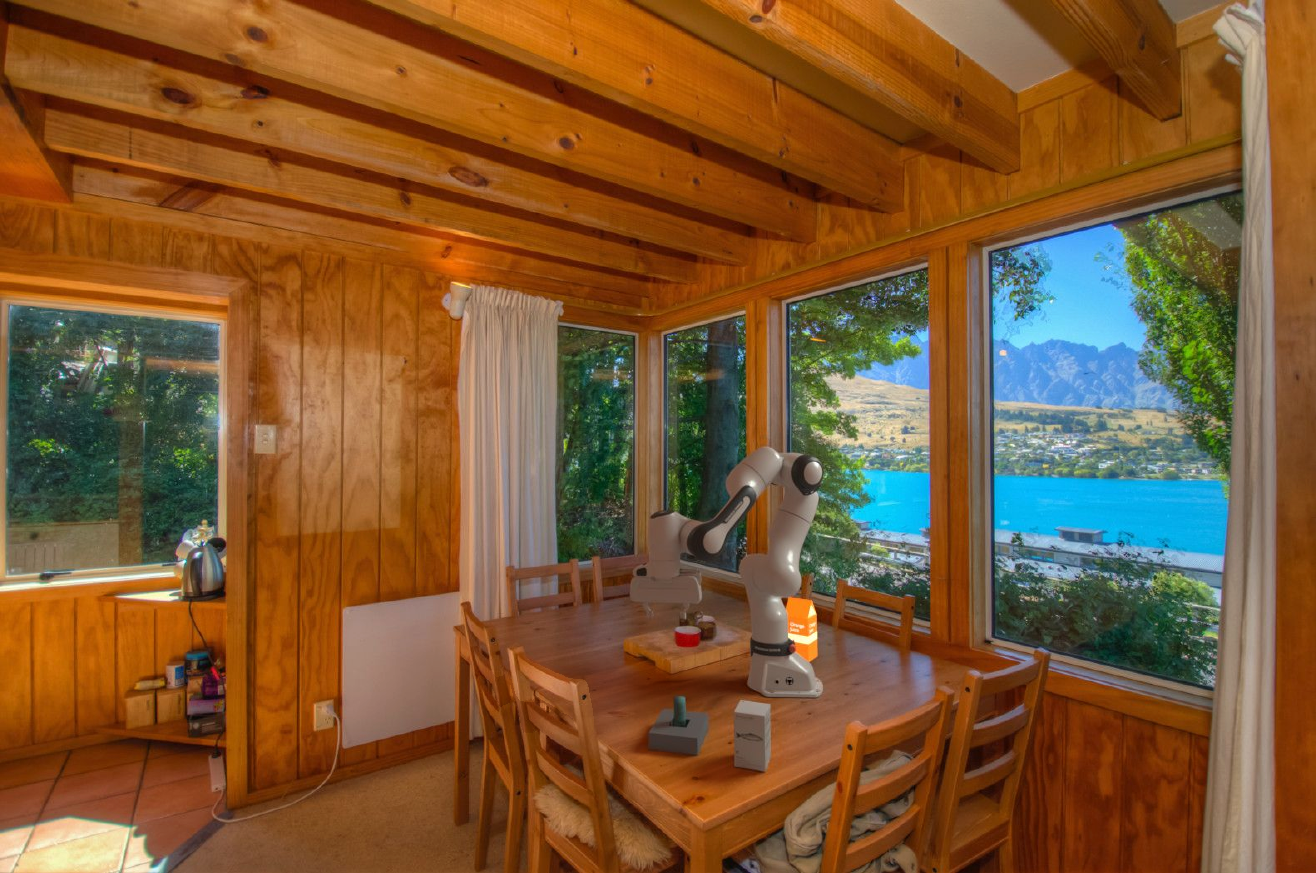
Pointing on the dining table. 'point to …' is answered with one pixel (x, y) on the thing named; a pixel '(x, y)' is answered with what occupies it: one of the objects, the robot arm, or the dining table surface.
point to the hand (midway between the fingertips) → (666, 617)
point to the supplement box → (752, 735)
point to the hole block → (679, 733)
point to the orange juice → (802, 626)
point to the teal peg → (679, 711)
